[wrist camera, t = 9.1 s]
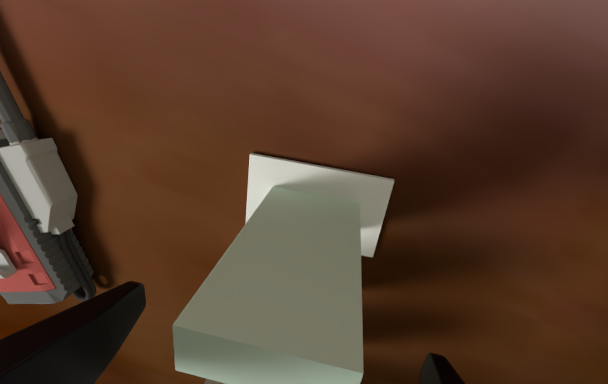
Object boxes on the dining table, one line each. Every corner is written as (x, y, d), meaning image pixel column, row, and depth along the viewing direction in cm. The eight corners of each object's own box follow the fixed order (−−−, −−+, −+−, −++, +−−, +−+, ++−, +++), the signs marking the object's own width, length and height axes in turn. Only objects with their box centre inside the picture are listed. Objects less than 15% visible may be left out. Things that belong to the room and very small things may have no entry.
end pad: (372, 254, 18) (372, 257, 17) (246, 228, 18) (245, 230, 18) (393, 179, 16) (394, 181, 15) (251, 152, 16) (249, 154, 16)
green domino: (353, 230, 17) (348, 416, 8) (270, 213, 17) (175, 370, 8) (359, 202, 16) (363, 373, 7) (273, 185, 17) (172, 324, 8)
